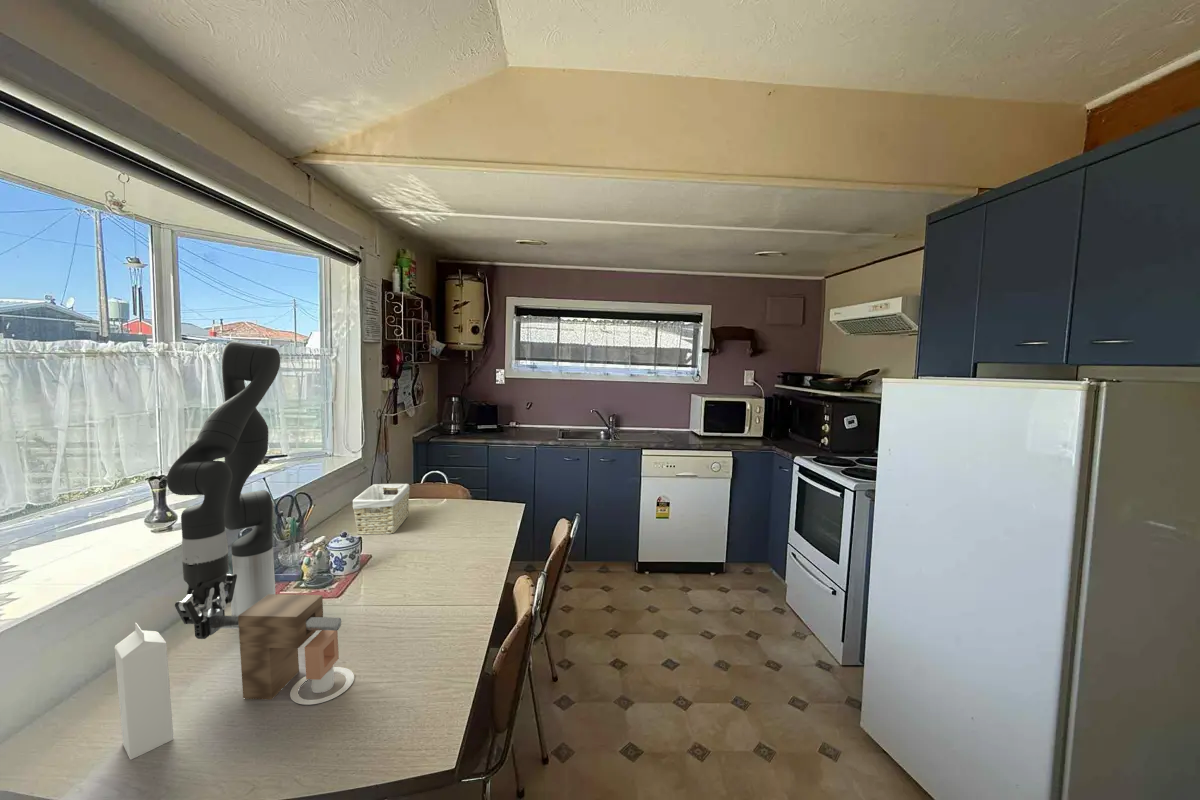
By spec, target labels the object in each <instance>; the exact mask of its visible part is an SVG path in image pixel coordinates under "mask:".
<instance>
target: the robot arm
mask: <svg viewBox="0 0 1200 800" xmlns="http://www.w3.org/2000/svg"><path fill="white" fill-rule="evenodd" d="M221 354H222V355H221V375H222V385H223V386H222V387H223V394H224V402H223V403H222V404H219V405H218V406H217V407H216V408H214V410H213V411H211V413H210V414H209V415H208V416H207V418H206V419H205V421H204V423H203V425H202V427H201V430H200V432H199V434H198V435H197V438H196V440H195V441H194V442H193V443H191V444H190V445H189V447H188V448H186V449H185V451H184V452H183V453H182V454H181V455H180V456H179V457H178V458H177V459H176V460H175V462H174V463H173V464H172V466H170V468H169V471H168V473H167V476H166V485H167V488H168V490H169V491H170V492H171V493H173V494H174V495H178V496H204V497H203V500H202V503H200V504H195V505H192V506H188V507H187V508H185V509H183V511H182V512H181V515H180V516H181V517H180V523H181V525H180V526H181V535H182V536H181V539H182V540H181V560H182V561H181V563H182V574H183V575H182V577H183V581H184V582H185V583H186V584H187V585H188V587H187V590H186V596H185V597H184V598H183V599H182V600H177V601H176V602H175V604H174V607H175V609H176V610H177V613H178V615H179V617H180V618H181V620H182V622H183V624H184V625H194V637H195V638H196V639H198V640H206V639H207V638H209V636H210V635H209V626H208V620H207V618H208V610H209V609H211V608H218V609H223V615H225V616H226V612H225V609H226V608H227V605H228V604H229V603H230V609H231V610H230V611H231V612H230V613H231V616H239V615H240V614H241V613H243V612H244V611H246V610H247V609H248V608H250V607H251V606H253V605H254V604H255V603H257V602H258V601H260V600H261V599H262V598H264V597H265V596H267V595H268V594H276V579H275V578H276V577H275V559H274V543H273V538H274V537H273V535H274V534H273V500H272V496H271V494H270V492H269V491H267V490H264V489H262V490H256V491H248V492H242V490H243V488H244V486H245V483H246V482H247V480H248V479H249V477H250V476H251V475H252V473H253V472H254V471H255V470H256V468H257V467H258V466H259V465H260V464H261V462H262V461H263V460H264V458H265V456H266V455H267V452H268V449H269V427H268V425H267V422H266V419H265V418H264V417H263V416H262V414H261V413H260V411H259V410H258V409H257V406H258V405H259V404H260V403H261V401H262V400H263V399H264V396H265V395H266V393H267V392H268V391H269V389H270V387H271V386H272V385H273V383H274V381H275V380H276V377H277V375H278V373H279V371H280V366H281V354H280V352H279V351H278V349H277V348H275V347H273V346H268V345H265V344H264V345H263V344H256V343H252V342H251V343H250V342H243V341H237V340H235V341H234V340H233V341H229V342H228V343H226V344H225V346H224V348H223V351H222V353H221ZM246 381H248V382H249V384H247V385H246V383H245V382H246ZM222 458H224V461H222V460H219V459H222ZM250 527H253V529H251V531H249V532H248V533H246V534H244V535H242V536H241V537H239V538H237V539H236V540H234V541H233V542H232V544H231V550H230V551H231V561H232V573H228V572H229V571H230V566H229V565H230V564H229V548H228V547H229V546H228V544H229V543H228V538H227V534H226V529H227V530H229V531H235V530H241V529H246V528H250ZM226 592H227V594H226ZM199 614H201V616H199Z"/></svg>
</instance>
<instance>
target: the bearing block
mask: <svg viewBox="0 0 1200 800" xmlns="http://www.w3.org/2000/svg"><path fill="white" fill-rule="evenodd" d="M323 603H324V602H323V595H322V594H281V593H279V594H276V593H275V594H268V595H267V596H265V597H264V598H262V599H261V600H260V601H258V602H257V603H255V604H254V605H253V606H251V607H250V608H248V609H247V610H246V611H244V612H243V613H241V614H240V615H239V616H238V622H239V629H238V635H239V636H238V638H239V652H240V653H239V654H240V666H241V667H240V668H241V670H240V671H241V684H242V685H241V686H242V699H243V698H245V699H244V700H265V699H266V701H268V700H271V701H273V699H275V697H276V696H277V695H279V693H280V692H281V691H282V690H283V689H284V688H285V687H286V686H287V685H288V684H289V683H290V682H291V681H292V680H291V679H294V678H295V676H297V675H298V674H299V673H300V663H299V662H300V657H299V648H300V647H301V646H302V645H303V644H304V643H306V642H307V641H308V640H309V639H310V638H311V636H313V635H314V634H315V633H317V631H318V630H306V620H307V619H308V618H309V617H324V604H323ZM290 680H291V681H290ZM289 681H290V682H289ZM288 682H289V683H288ZM287 683H288V684H287ZM286 684H287V685H286ZM285 685H286V686H285ZM282 688H283V689H282ZM281 689H282V690H281Z"/></svg>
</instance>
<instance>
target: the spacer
mask: <svg viewBox="0 0 1200 800" xmlns="http://www.w3.org/2000/svg"><path fill="white" fill-rule="evenodd" d="M338 633H339V630H337V631H332V630H320V632H318V634H316V636H314V637H313V638H312V639H311V640H310V641H309V642H308V643H307V644H306V645H305V646H304V662H305V663H304V664H305V665H304V666H305V676H306V679H310V680H311V679H320V680H321V678H322V677H323V676H324V675H325V674H326V673H327V672H328V671H329V669H330V668H331V667H332V666H333V667H334V666H335V664H336V662H338V660H340V657H339V656H340V653H339V638H338V637H339V634H338Z"/></svg>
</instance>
